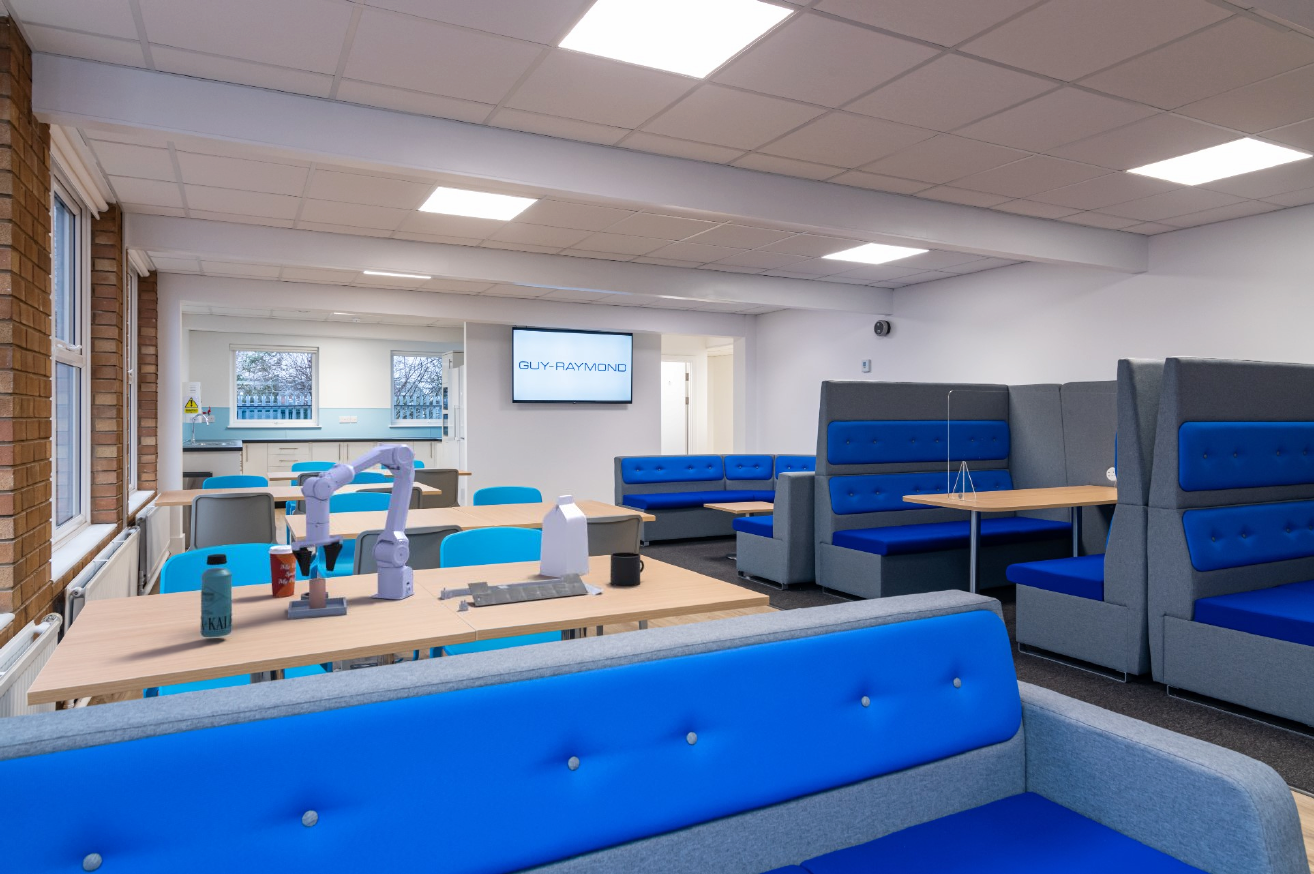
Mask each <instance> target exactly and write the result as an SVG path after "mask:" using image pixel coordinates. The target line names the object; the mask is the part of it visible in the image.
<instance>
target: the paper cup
mask: <svg viewBox="0 0 1314 874" xmlns="http://www.w3.org/2000/svg"><path fill="white" fill-rule="evenodd" d="M268 554H269V563H270V577H271V578H270V579H271V591H272V592H271V593H272V597H274V598H287V597H292V596H293V595H294V593H295V583H296V571H297V570H296V568H297V567H296V566H297V560H296V558H295V556H294V555H293V553H292V550H291V545H290V544H286V545H285V544H283V545H274V546H271V547H270V548H269V550H268Z"/></svg>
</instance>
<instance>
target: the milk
mask: <svg viewBox="0 0 1314 874" xmlns="http://www.w3.org/2000/svg"><path fill="white" fill-rule="evenodd" d="M573 497H574V496H573V495H571V494H568V495H560V496H559V495H558V496H557V500H556V503H555V505H554V506H553V507H552V508H551V509H550V510H549V511H548V512H547V513H546V514H545V515H544V517H543V519H542V522H541V523H542V526H541V528H542V529H541V542H540V545H541V546H540V559H539V561H540V562H539V564H540V566H539V575H541V576H547V577H552V578H553V577H554V578H558V579H562V576H561V574H571V573H578V574H579V576H583V575H586V574H589V573H590V564H589V563H590V562H589V561H590V560H589V559H590V558H589V539H588V536H589V535H588V521H587V517H586V515H585V514H584V512H582V510H581V509H580V508H579V507H578V506H577V505H576V504H575V502H574V498H573Z"/></svg>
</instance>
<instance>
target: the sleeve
mask: <svg viewBox="0 0 1314 874" xmlns="http://www.w3.org/2000/svg"><path fill="white" fill-rule="evenodd" d="M326 598H329V592H328V591H326ZM300 600H309V591H308V592H304V593H301V595H300Z"/></svg>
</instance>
